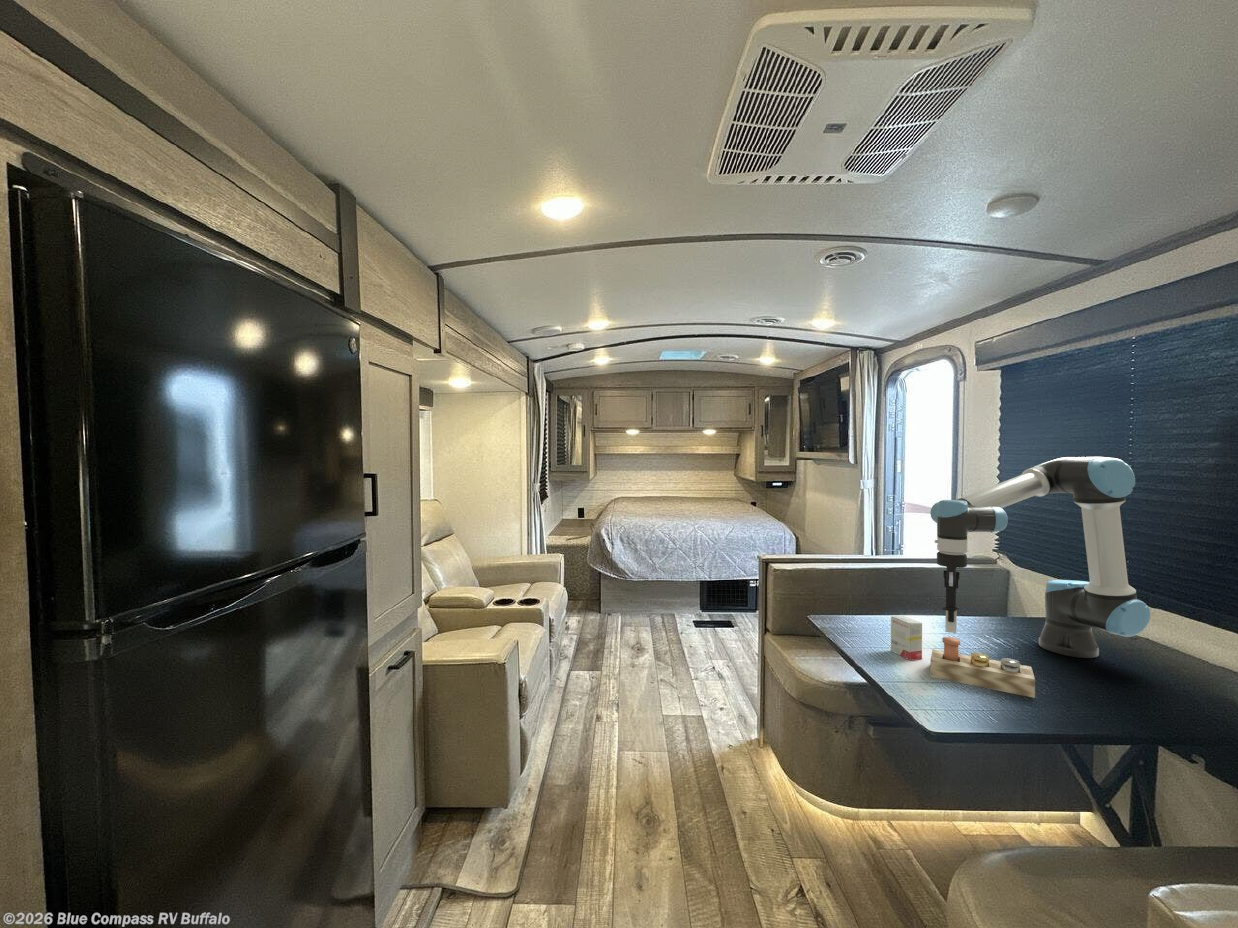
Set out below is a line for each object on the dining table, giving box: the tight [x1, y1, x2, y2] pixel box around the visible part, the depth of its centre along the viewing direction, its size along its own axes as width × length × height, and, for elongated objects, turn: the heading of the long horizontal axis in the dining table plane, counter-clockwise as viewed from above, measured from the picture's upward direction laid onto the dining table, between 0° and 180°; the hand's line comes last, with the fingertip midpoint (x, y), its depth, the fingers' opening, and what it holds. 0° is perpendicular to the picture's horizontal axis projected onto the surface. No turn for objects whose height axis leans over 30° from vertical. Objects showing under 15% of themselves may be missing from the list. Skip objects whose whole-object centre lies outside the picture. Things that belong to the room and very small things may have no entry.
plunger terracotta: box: [941, 636, 961, 662], centre depth 153 cm, size 4×4×6 cm
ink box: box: [890, 615, 923, 661], centre depth 168 cm, size 9×5×12 cm, turn 13°
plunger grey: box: [1000, 657, 1021, 673], centre depth 145 cm, size 4×4×6 cm
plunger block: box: [929, 649, 1036, 699], centre depth 149 cm, size 24×10×5 cm, turn 56°
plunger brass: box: [970, 652, 990, 667], centre depth 149 cm, size 4×4×6 cm
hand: (950, 631), depth 153 cm, fingers closed
